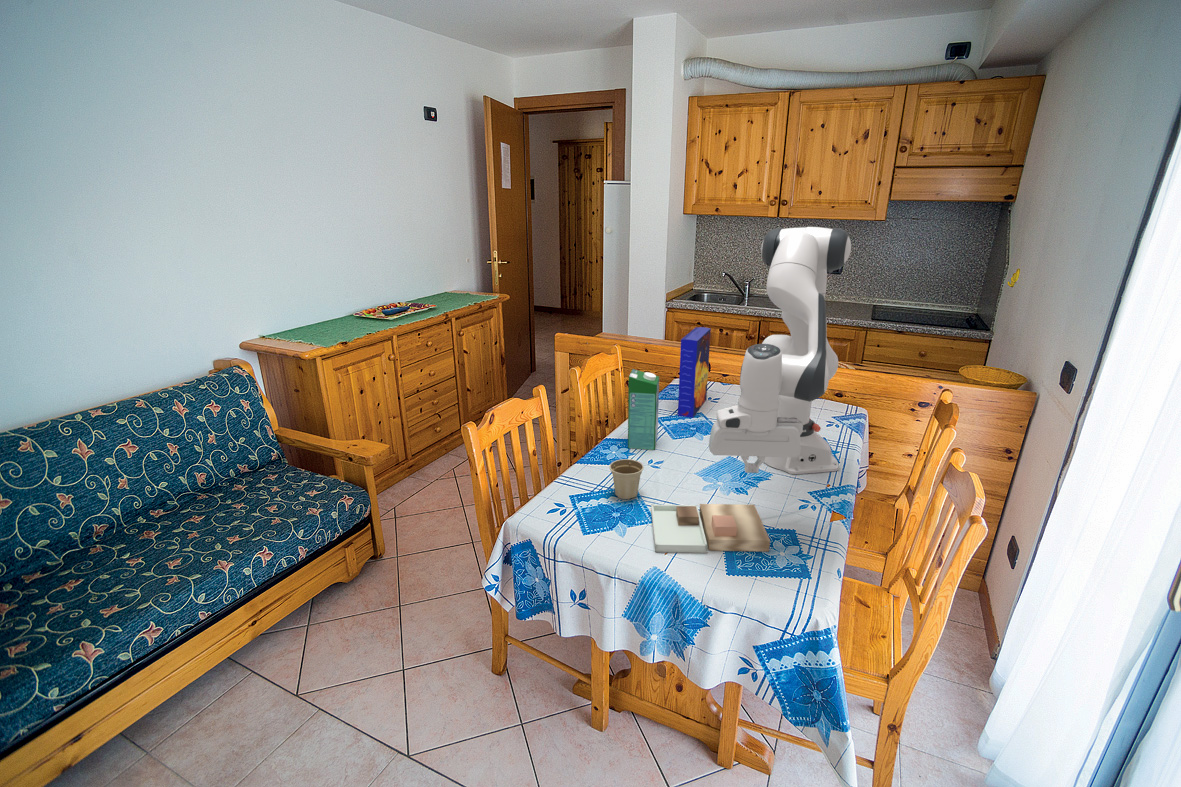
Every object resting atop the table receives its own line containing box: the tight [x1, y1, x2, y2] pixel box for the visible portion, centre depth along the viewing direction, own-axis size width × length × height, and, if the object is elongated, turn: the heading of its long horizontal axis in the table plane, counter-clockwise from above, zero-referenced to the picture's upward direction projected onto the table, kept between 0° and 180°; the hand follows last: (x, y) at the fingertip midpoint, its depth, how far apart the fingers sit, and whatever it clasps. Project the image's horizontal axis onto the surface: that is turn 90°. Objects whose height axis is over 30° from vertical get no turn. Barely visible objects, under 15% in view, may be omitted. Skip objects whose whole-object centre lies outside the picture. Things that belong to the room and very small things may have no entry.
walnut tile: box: [676, 506, 699, 526], centre depth 142 cm, size 5×5×2 cm
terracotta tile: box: [711, 515, 737, 536], centre depth 133 cm, size 5×5×2 cm
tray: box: [650, 504, 708, 554], centre depth 138 cm, size 12×18×2 cm, turn 177°
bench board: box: [699, 503, 771, 553], centre depth 137 cm, size 14×16×3 cm
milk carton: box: [627, 368, 660, 451], centre depth 184 cm, size 9×9×25 cm
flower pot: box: [609, 458, 645, 500], centre depth 155 cm, size 9×9×9 cm
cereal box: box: [677, 326, 712, 419], centre depth 215 cm, size 22×6×30 cm, turn 156°
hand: (751, 471), depth 130 cm, fingers closed
